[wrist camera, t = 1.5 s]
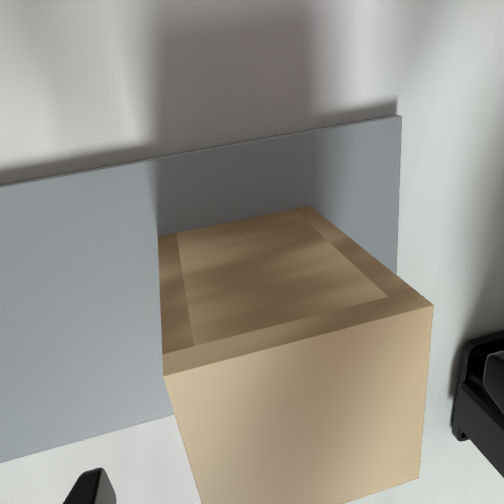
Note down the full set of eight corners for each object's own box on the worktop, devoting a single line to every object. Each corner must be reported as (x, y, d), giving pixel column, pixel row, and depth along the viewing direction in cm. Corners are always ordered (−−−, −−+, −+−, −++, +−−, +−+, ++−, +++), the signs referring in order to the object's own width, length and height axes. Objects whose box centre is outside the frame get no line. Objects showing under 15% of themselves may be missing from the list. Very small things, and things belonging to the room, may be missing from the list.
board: (394, 114, 13) (401, 116, 13) (388, 347, 18) (393, 352, 17) (-498, 273, 10) (-524, 280, 9) (-227, 517, 14) (-237, 529, 13)
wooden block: (309, 205, 13) (433, 305, 7) (317, 327, 16) (418, 478, 10) (157, 236, 13) (162, 376, 7) (189, 361, 15) (214, 547, 9)
